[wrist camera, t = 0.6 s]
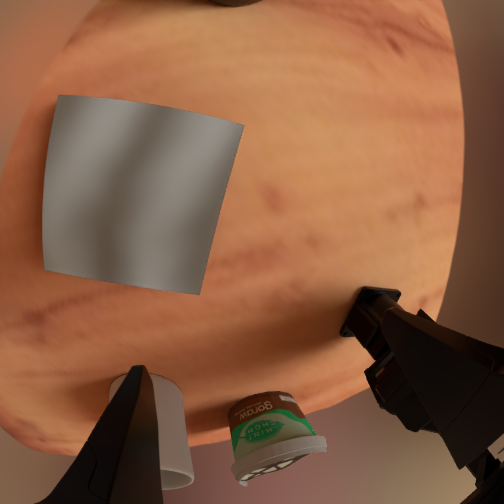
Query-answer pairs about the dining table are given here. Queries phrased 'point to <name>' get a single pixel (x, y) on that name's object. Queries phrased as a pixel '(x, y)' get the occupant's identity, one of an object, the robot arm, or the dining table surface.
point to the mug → (169, 432)
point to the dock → (134, 191)
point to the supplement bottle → (235, 2)
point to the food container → (269, 435)
